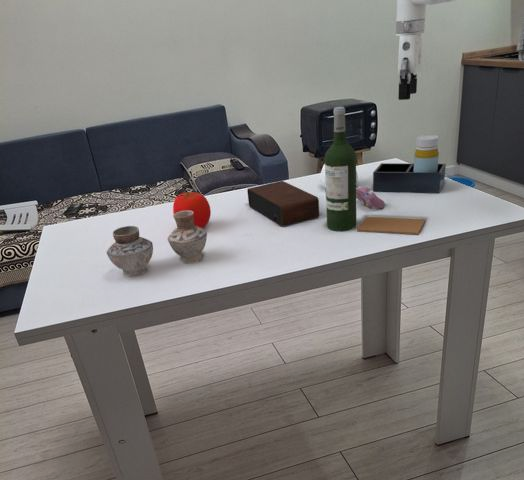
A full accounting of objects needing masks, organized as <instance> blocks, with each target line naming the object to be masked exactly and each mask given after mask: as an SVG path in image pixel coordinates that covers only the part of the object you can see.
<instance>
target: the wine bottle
mask: <svg viewBox="0 0 524 480" xmlns="http://www.w3.org/2000/svg"><path fill="white" fill-rule="evenodd" d="M324 164H325V182H326V189H325V207H326V209H325V210H326V227H327V229H328V230H329V231H333V232H346V231H347V232H348V231H351V230H354V229H355V228H356V226H357V198H356V188H357V182H356V171H357V153H356V151H355V149H354V148H353V147H352V146H351V144H349V143H348V141H347V132H346V108H345V107H344V106H335V107H334V108H333V142H332V144H331V145H330V146H329V148H328V149H327V150H326V151H325V153H324Z"/></svg>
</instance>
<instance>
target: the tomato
mask: <svg viewBox="0 0 524 480" xmlns="http://www.w3.org/2000/svg"><path fill="white" fill-rule="evenodd" d="M185 210H189V211H193V212H194V216H193V219H194V225H195V226H198V227H200V228H202V229H204V228H205V227H206V226H207V225H208V223H209V222H210V219H211V217H212V216H211V215H212V214H211V213H212V211H211V206H210V203H209V200H208V199H207V197H205V195H204V194H202V193H199V192H198V191H197V192H196V191H195V192H194V191H187V192H183V193H180V194H178V195H176V197H175V199H174V201H173V205H172V212H173V213H172V214H173V215H174V214H175V213H177V212H180V211H185Z"/></svg>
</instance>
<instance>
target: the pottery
mask: <svg viewBox="0 0 524 480" xmlns="http://www.w3.org/2000/svg"><path fill="white" fill-rule="evenodd" d="M193 216H194V212H193V211H189V210H185V211H180V212H177V213H175V214H173V216H172V217H173V219H174V221H175V224H176V227H177V228H175V229H174V230H173V231H172V232H171V233H170V234H169V235H168V237H167V241H168V244H169V245H170V248H171V250H172V251H173V252H174V253H175V254H176V255H178V256H179V261H180V262H181V263H184V264H193V263H197V262H199V261H201V260H202V259H203V255H202V252H203V251H204V249H205V246H206V243H207V239H208V238H207V237H208V231H206V229H204V228H200V227H198V226H195V225H194V219H193ZM112 236H113V240H114V241H115V242H113V243H112V244H111V246H109V247H108V249H107V250H106V255H107V258H108V259H109V261H110V262H111V264H113V266H115V267H116V268H118V269H120V270H122V273H123V274H124V275H125V276H127V277H135V276H139V275H142V274H144V273H145V272H146V271H147V270H148V268H147V265H149V263H150V261H151V260H152V257H153V254H154V245H153V242H152V241H151V240H150V239H147V238H145V237H141V236H140V229H139V227H138V226H136V225H127V226H121V227H118V228H116V229H114V230H113V231H112Z"/></svg>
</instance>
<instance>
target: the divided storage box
mask: <svg viewBox="0 0 524 480" xmlns="http://www.w3.org/2000/svg"><path fill="white" fill-rule="evenodd" d="M446 167H447V163H438V170H437V173H427V172H414V163H406V162H405V163H398V162H397V163H395V162H394V163H392V162H389V163H388V162H387V163H386V162H385V163H384V162H381V163H380V164H379V165H378V166H377V167H376V168H375V169H374V171H373V172H372V192H373V193H375V192H376V193H407V194H408V193H410V194H440V192H441V191H442V189H443V187H444V184H445V179H446Z"/></svg>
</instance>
